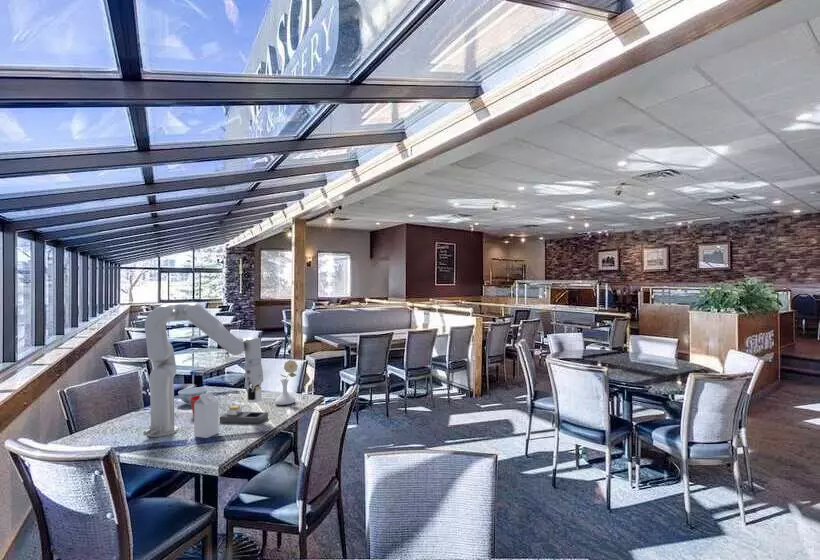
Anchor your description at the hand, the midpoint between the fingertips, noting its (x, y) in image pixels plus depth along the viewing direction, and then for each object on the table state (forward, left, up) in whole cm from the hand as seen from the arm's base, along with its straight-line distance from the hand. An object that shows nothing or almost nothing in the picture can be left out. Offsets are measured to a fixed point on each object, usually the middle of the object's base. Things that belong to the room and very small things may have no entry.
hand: (254, 397), depth 212 cm
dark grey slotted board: (0, +6, -12) cm, 13 cm away
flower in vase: (+31, -3, -12) cm, 33 cm away
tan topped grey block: (0, +11, -12) cm, 16 cm away
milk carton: (-21, +12, -12) cm, 27 cm away
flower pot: (+6, +33, -12) cm, 36 cm away
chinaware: (+27, +53, -12) cm, 61 cm away
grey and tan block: (0, 0, -2) cm, 2 cm away
